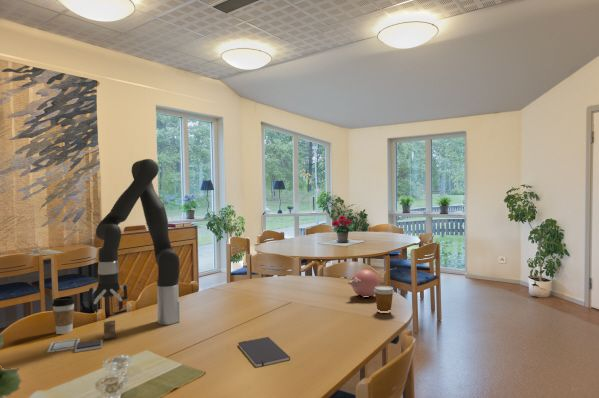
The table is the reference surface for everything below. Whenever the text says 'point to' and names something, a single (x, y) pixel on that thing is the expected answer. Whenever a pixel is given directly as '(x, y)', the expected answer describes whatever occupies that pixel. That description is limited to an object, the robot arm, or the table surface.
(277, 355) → the notebook
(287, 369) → the table surface
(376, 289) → the disposable coffee cup
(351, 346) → the table surface
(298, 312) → the table surface
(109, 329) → the stamp
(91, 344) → the inkpad
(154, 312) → the table surface
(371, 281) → the pink rounded piece
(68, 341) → the card
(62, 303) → the coffee cup
